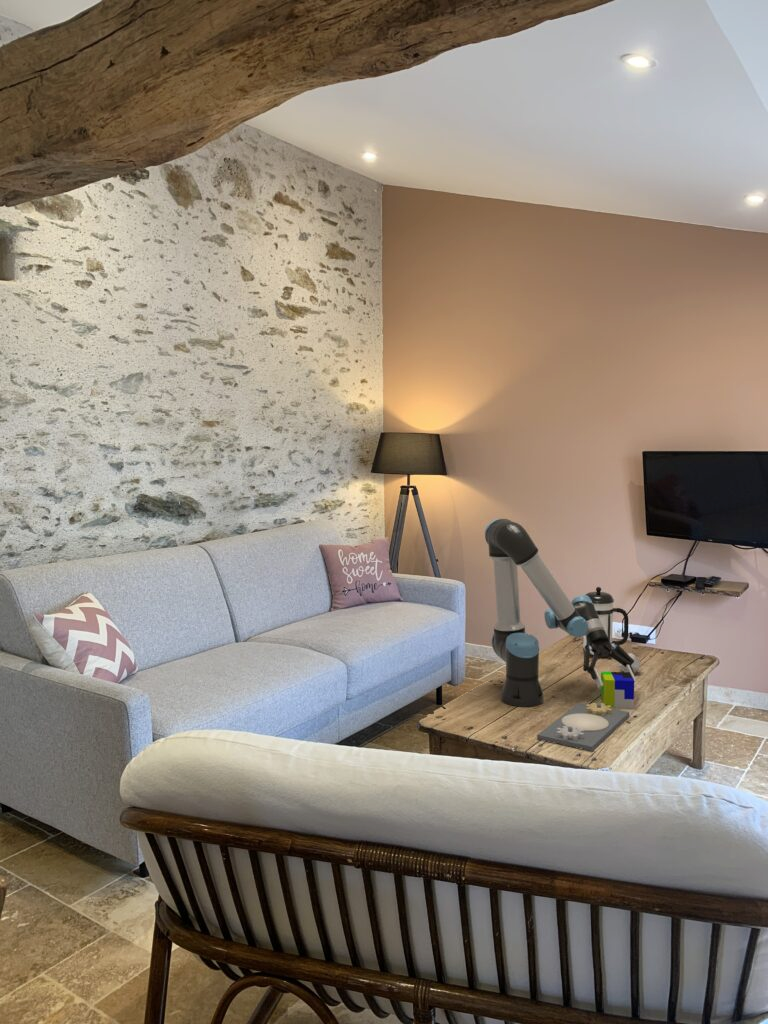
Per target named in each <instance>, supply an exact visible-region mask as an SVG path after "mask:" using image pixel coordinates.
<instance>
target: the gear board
mask: <svg viewBox="0 0 768 1024" xmlns="http://www.w3.org/2000/svg"><path fill="white" fill-rule="evenodd" d="M629 717H630V711H626V710H620V709H617V708H611V706H606V705H605V704H603V702H602V703H601V702H592V703H591V704H589V703H585V702H584V703H583V702H578V703H577V704H575V705H574V706H573V707H571V708H570V709H568V710H567V711H566V712H565V713H563V714H562V715H561V716H559V717H558V718H557V719H556V720H554V721H553V722H551V723H550V724H549V725H548V726H546V727H545V728H544V729H543V730H541V731H540V732H539V733H538V734H537V735H536V736H537V737H536V739H537V740H538V739H541V740H540V741H542V740H545V741H544V742H547V741H550V742H549V743H551V742H555V743H554V744H556V743H559V744H558V745H560V744H564V745H563V746H565V745H568V746H567V747H569V746H573V747H572V748H574V747H577V748H576V749H578V748H582V749H581V750H583V749H585V750H584V751H587V750H589V751H588V752H593V751H594V750H596V748H598V746H600V745H601V744H602V743H603V742H604V741H605V740H606V739H607V738H608V737H609V736H611V734H612V733H613V732H614V731H616V729H618V728H619V727H620V726H621V725H622V724H623V723H624V722H625V721H626V720H627V719H628V718H629Z"/></svg>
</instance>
